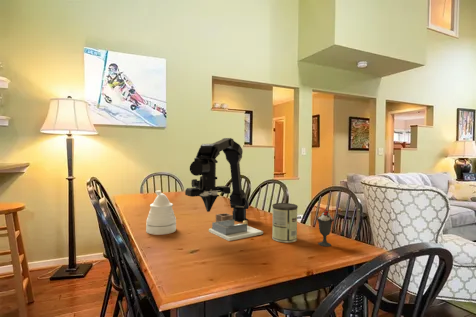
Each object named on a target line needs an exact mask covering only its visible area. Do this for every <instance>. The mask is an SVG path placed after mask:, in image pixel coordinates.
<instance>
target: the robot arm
mask: <svg viewBox="0 0 476 317" xmlns="http://www.w3.org/2000/svg"><path fill="white" fill-rule="evenodd" d="M221 152H223V153H224V155H225V160H226V161H227V162H228V164H229V170H230V177H231V179H230V180H231V185H232V186H231V187H232V190H231V187H230V186H226V185H217V184H216V183H217V180H218V176H216V174H217V173H216V172H217V171H216V170H217V167H216V166H217V164H218V160H217V157H219V155H220V153H221ZM242 158H243V148H242V146H241V145H240V144H239V143H238V142H236V141H235V140H234V138H232V137H224V138H222V139H221V140H218V141H215V142H213V143H202V144H200V147H199V149H198V150H197V154H196V156H195V157H194V161H192V162H191V163H190V166H189V171H190V173H191V175H193V176H197V177H198V176H200V177H199V180H198V179H196V178H194V179H191V183H190V184H191V187H187V188H186V189H185V191H184V195H185V196H188V197H190V198H191V197H200V198H201V199H202V202H203V204H204V207H205V210H206V212H207V213H209V212H211V210H212V207H213V205H214V204H215V202H216V200H217V198H218V197H220V195H219V194H218V193H223V194H225V195H226V194H227V195H228V194H229V204H230V209H232V215H233V220H235V221H237V222H243V221H248V219H249V218H247V210H249V207H250V204H249V203H250V202H249V201H248V198H247V195H246V193H245V191H244V189H243V186H242V176H241V165H240V162H241V160H242Z"/></svg>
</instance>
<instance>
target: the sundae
mask: <svg viewBox="0 0 476 317" xmlns="http://www.w3.org/2000/svg"><path fill="white" fill-rule="evenodd" d="M327 209H328V207H327V206H326V207H325V209H324V211H323V212H322V213H321V215H319V216H318V217H316V221H317V222H318V232H319V233H320V234H321V235H322V241H320V242H317V245H318V246H321V247H327V248H328V247H331V246H332V244H331V243H329V242H328V241H327V236H329V235H330V234H331V231H332V225H333V222H334V221H335V219H334V218H333V217H332V216H331V214H330V212H329V211H328V210H327Z"/></svg>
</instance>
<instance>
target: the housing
mask: <svg viewBox="0 0 476 317" xmlns="http://www.w3.org/2000/svg"><path fill="white" fill-rule="evenodd" d="M235 221H236V220H233V219H232V220H226V221H219V222H216V221H213V222H211V223H212V225H211V226H212V227H211V228H212V229H213V230H215V231H217V232H219V233H222V234H224V235H230V234H235V233H241V232H246V231H247V226H248V223H247V224H243V223H240V224H241V225H236V224H235ZM234 225H235V226H234Z"/></svg>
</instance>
